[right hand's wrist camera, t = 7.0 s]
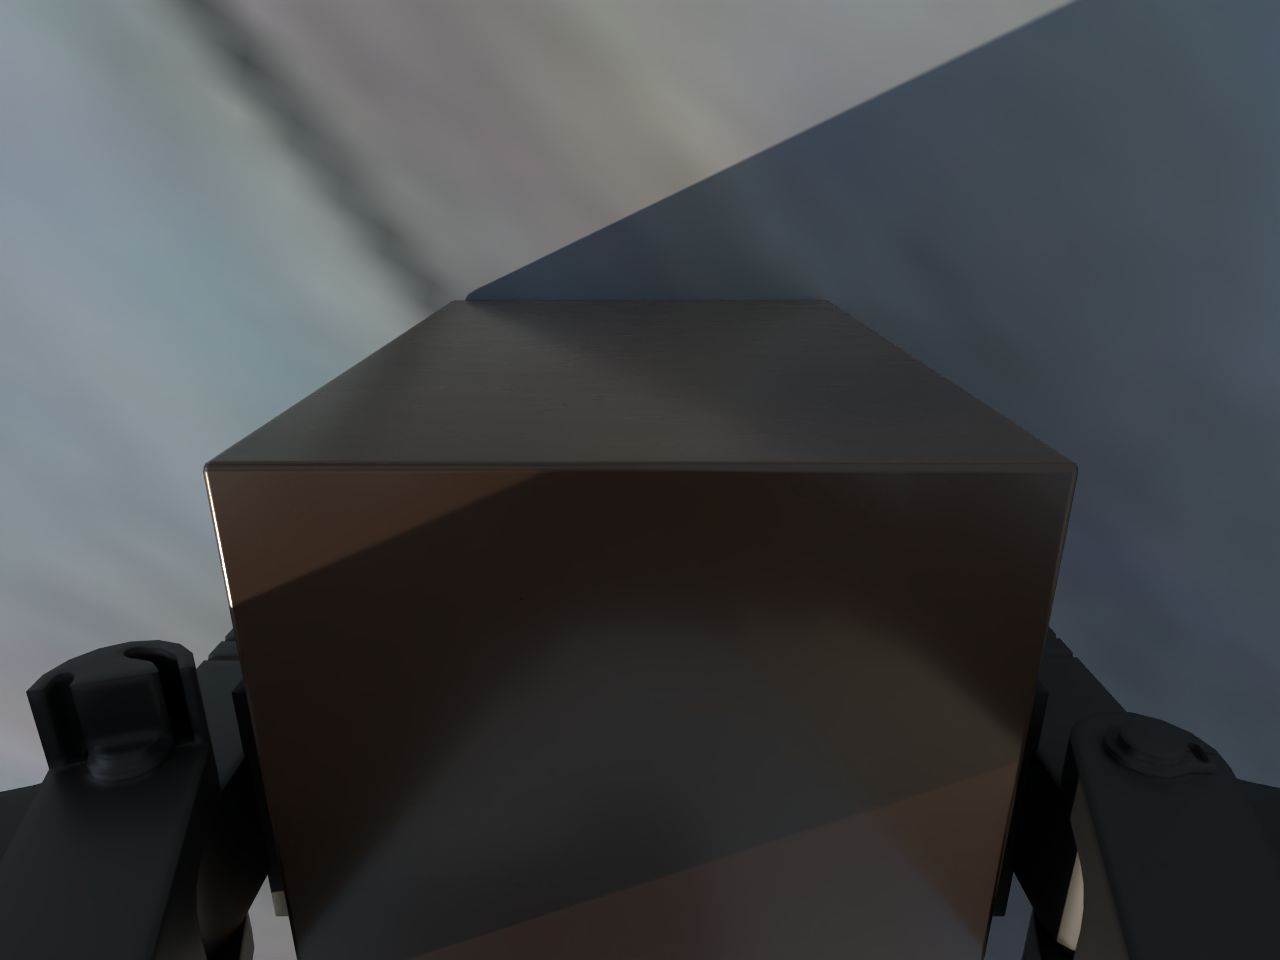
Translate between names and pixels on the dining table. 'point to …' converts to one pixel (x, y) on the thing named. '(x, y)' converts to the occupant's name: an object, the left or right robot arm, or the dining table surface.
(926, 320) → the dining table surface
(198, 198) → the dining table surface
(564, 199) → the dining table surface
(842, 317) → the walnut beam
